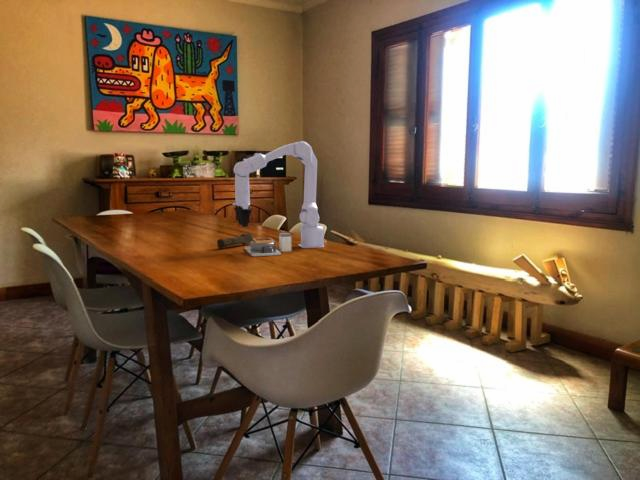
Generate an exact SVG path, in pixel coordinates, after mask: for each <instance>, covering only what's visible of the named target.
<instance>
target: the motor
mask: <svg viewBox="0 0 640 480" xmlns="http://www.w3.org/2000/svg"><path fill="white" fill-rule="evenodd" d="M252 240H253V241H251V242H250V243H249V244H250V246H249V245H248V246H244V250H245V251H246V252H247V253H248V254H249V255H250V256H251V257H265V256H266V257H267V256H268V257H269V256H281V255H282V252H281V251H280V250H279V249H277V241H276V240H275V239H273V238H272V237H260V238H259V237H256V238H254V237H253V239H252Z"/></svg>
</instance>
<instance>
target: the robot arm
mask: <svg viewBox="0 0 640 480" xmlns="http://www.w3.org/2000/svg"><path fill="white" fill-rule="evenodd" d="M283 156H292V157H294V158H296V159H297V160H299V161H301V163H303V165H304V182H303V183H304V186H303V188H304V189H303V203H302V205H301V211H300V213H299V217H298V218H299V220H300V222H301V224H300V244H297V245H298V247H300V248H302V249H311V248H313V249H314V248H325V230H324V226H323V225H319V222H320V215H319V212H318V210H319V209H318V206H317V185H318V182H317V181H318V178H317V177H318V159H317V157H316V155H315V153H314V151H313V147H312V146H311V145H310V144H309V143H308V142H306V141H304V140H301V141H295V142H292V143H289V144H284V145H282V146H280V147H278V148H276V149H274V150H271V151H270V152H267V153H265V154H263V153H258V152H257V153H256V152H255V153H253V156H250V157H248V158H243V159H242V160H243V161H238V162H236V163H235V165H234V167H233V173H234V175H235V176H234V179H235V180H234V194H235V197H234V198H235V202H232V205H233V206H237V207H234V208H233V210H234V212H235V214H236V218H237V221H238V224H239V226H241V227H242V228H247V227H248V226H249V222H250V216H251V214H252V212H253V209H249V206H250V205H251V198H250V197H251V192H250V190H251V189H250V174H251V173H254V172H257V171H258V170H261V169H263V168H265V167H267V164H268V163H269V162H270V161H274V160H275V159H278V158H281V157H283Z"/></svg>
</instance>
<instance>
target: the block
mask: <svg viewBox="0 0 640 480" xmlns="http://www.w3.org/2000/svg"><path fill="white" fill-rule="evenodd" d="M278 235H279V236H278V240H279V241H278V245H279V248H278V251H280V252H281V253H282V252H286V253H287V252H292V233H290V232H279V233H278Z"/></svg>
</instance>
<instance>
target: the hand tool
mask: <svg viewBox="0 0 640 480" xmlns="http://www.w3.org/2000/svg"><path fill="white" fill-rule="evenodd" d="M253 238H254V237H253V235H252V234H251V233H250V232H247V233H241V234H240V236H235V237H227V238H223V239H222V238H219V239H218V240H217V241H216V242H217V247H218V249H223V248H227V247H230V246H231V247H232V246H235V245H240V244H241V245H249V244H250V242H251V241H253V240H252V239H253Z"/></svg>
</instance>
